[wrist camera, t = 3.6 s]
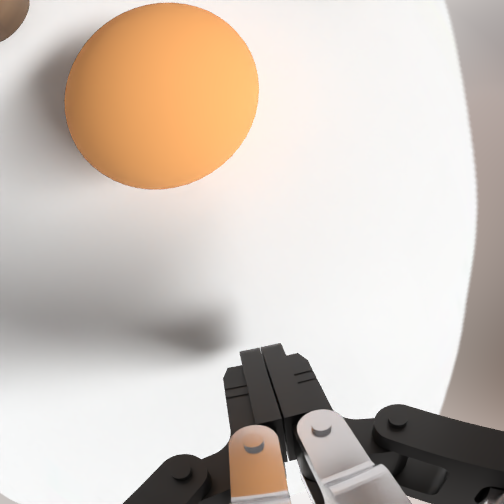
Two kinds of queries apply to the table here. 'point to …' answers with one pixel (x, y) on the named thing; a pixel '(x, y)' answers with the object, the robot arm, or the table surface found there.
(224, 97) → the ball
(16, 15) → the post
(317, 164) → the table surface
